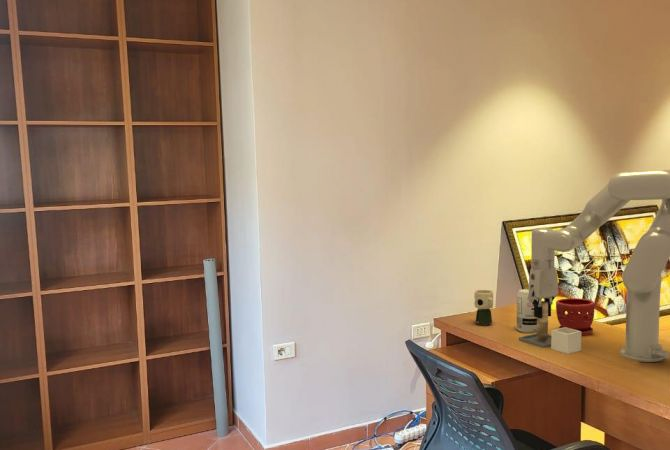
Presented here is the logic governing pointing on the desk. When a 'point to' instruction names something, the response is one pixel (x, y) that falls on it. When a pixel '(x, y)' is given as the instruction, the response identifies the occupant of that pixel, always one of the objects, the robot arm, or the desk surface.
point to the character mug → (483, 306)
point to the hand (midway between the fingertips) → (542, 316)
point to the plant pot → (576, 314)
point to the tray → (536, 340)
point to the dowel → (543, 323)
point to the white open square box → (566, 340)
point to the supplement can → (525, 313)
